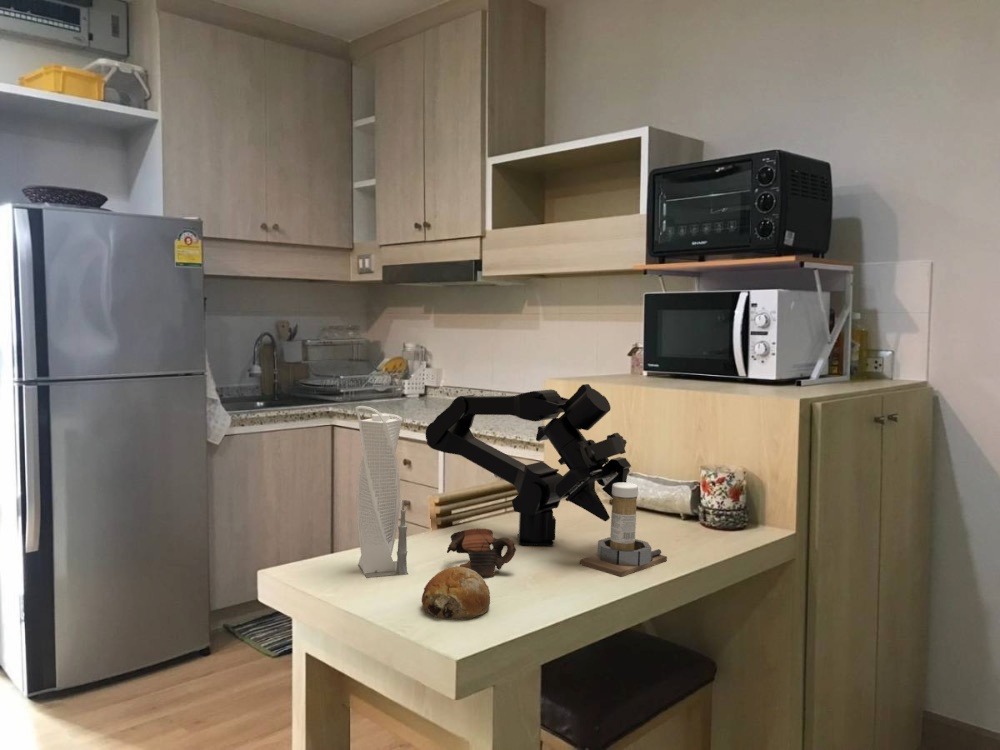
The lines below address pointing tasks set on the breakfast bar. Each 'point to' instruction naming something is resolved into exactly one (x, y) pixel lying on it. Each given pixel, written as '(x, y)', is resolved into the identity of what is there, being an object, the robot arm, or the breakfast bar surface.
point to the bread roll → (456, 594)
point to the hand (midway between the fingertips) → (620, 515)
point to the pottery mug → (482, 550)
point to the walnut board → (616, 569)
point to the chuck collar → (626, 553)
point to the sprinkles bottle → (623, 515)
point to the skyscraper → (380, 497)
